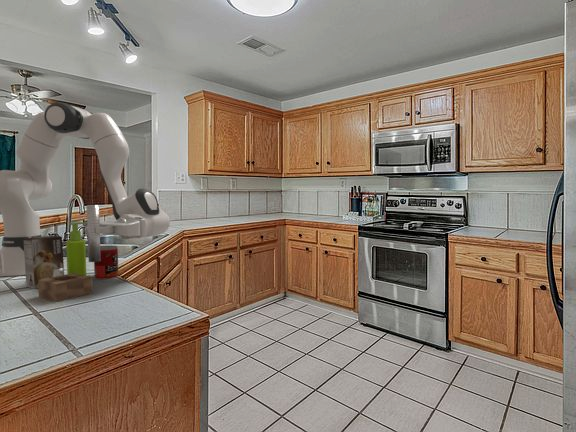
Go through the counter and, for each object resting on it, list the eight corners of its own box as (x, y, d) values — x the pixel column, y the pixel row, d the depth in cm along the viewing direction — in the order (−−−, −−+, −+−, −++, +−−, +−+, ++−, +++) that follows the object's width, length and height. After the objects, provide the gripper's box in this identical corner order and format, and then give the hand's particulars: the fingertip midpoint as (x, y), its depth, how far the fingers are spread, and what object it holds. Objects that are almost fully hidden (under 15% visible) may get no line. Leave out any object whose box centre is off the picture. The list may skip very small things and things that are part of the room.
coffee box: (56, 280, 120) (54, 235, 119) (65, 283, 117) (63, 236, 116) (25, 286, 113) (22, 237, 112) (34, 289, 109) (31, 239, 108)
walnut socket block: (39, 296, 102) (38, 279, 101) (73, 288, 110) (73, 273, 110) (57, 301, 97) (56, 284, 96) (92, 292, 105) (91, 276, 105)
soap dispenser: (91, 276, 127) (89, 222, 126) (70, 279, 122) (68, 223, 120) (86, 273, 131) (84, 221, 130) (65, 277, 126) (63, 222, 124)
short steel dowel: (50, 287, 112) (49, 268, 112) (61, 284, 115) (60, 266, 115) (55, 288, 110) (55, 270, 110) (67, 286, 113) (66, 268, 113)
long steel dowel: (86, 261, 110) (84, 205, 109) (96, 259, 113) (94, 204, 112) (92, 262, 109) (90, 205, 107) (103, 260, 112) (101, 205, 110)
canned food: (108, 279, 122) (107, 248, 121) (89, 278, 123) (88, 248, 123) (123, 274, 129) (122, 245, 128) (104, 273, 131) (103, 245, 130)
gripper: (110, 216, 126) (71, 219, 114) (148, 218, 117) (110, 221, 104) (111, 233, 127) (72, 237, 115) (148, 237, 117) (111, 242, 105)
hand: (90, 230), depth 109 cm, fingers closed on long steel dowel, 3 cm apart
